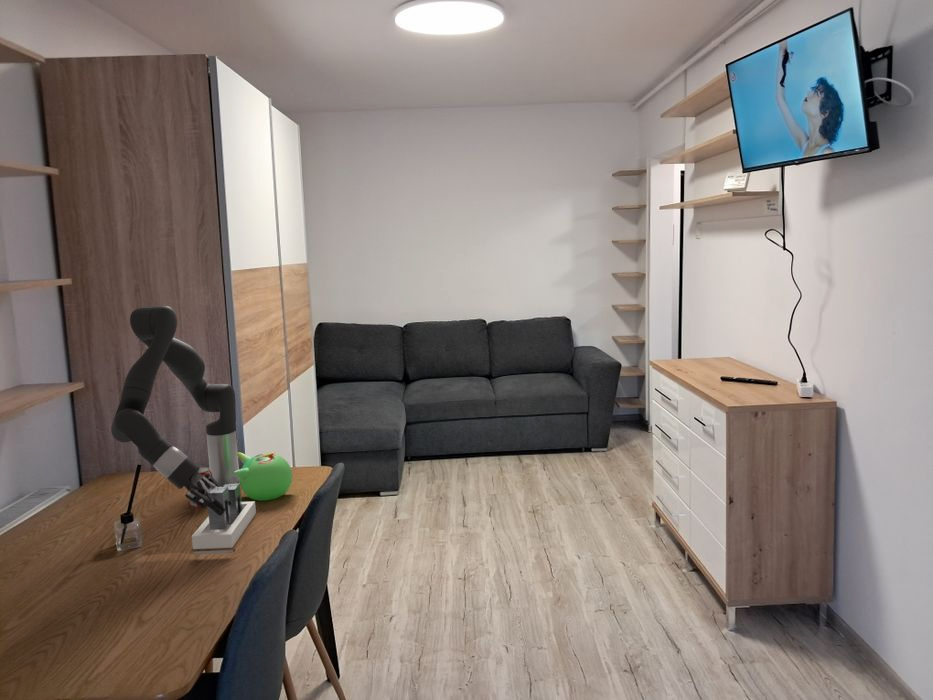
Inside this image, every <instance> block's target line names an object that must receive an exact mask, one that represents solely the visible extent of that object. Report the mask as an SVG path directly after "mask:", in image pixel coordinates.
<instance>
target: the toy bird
mask: <svg viewBox="0 0 933 700" xmlns="http://www.w3.org/2000/svg"><path fill="white" fill-rule="evenodd" d="M237 456H238V460H240V461H241V463H242V467H241V468H239V470H236V471H234V472H233V475H235V476H237V477H239V483H240V489H241V490H242V492H243V493H244V494H245V496H247V497H248V498H249V499H250V500H253V501H259V502H263V501H264V502H265V501H271V500H275V499H278V498H280V497H282V496H283V495H285V493H286V492H287V491H288V490H289V489H290V487H291V485H292V481H293V472H292V468H291V465H290V464H289V463H288V461H287V460H286V459H285V458H284V457H282V456H281V455H279V454H276V453H275V452H274V451H273V452H269V453H268V452H267V453H260V454H257V455H255V456H254V457H252V456H251V455H248V454H246V453H243V452H239V451H238V453H237Z"/></svg>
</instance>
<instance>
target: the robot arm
mask: <svg viewBox="0 0 933 700" xmlns="http://www.w3.org/2000/svg"><path fill="white" fill-rule="evenodd" d="M129 323H130V328H131V330H132V332H133V333H134V335H135V337H137V339H138V340H140V342H142V343H143V344H145V346H146V347H147V348H146V350H145V352H143V354H142V355H141V356H140V357H139V358H138V359H137V360H136V361H135V363H133V365H132V366H131V368H130V369H129V371H128V373H127V374H126V377H125V380H124V384H123V387H122V390H121V396H120V400H119V404H118V406H117V410H116V412H115V415H114V417H113V420H112V424H111V428H110V430H111V431H110V432H111V435H112V437H113V438H114V439H115V440H116V441H117V442H120V443H129V442H132V444H134V445H135V446H136V448H137V450H138V451H137V452H138V454H139V455H140V456H141V457H142V458H143V459H144V460H145V461H147V462H148V463H149V464H150V466H152V467H154V468H155V469H156V471H157V472H158V473H159V474H160V475H162V476H163V477H164V478H165V479H166V480H168V481H169V482H170V484H173V486H175V487H176V488H177V489H180V490H181V489H183V488H185V489H186V490H187V491H188V492H186V493H185V495H184V496H185V497H186V498H187V499H189V501H190V500H191V501H193V502H194V503H196V504H197V505H199V506H200V507H199V508H202V509H206V508H208V507H210V508H211V509H212V510H213V511H214V512H216V513H217V514H218V515H219V516H221V515H222V514H223V513H224V512H225V510H226V509H225V508H224V507H223V506H222V505H220V504H219V503H218V502H217V501H216V500H214V498H213V497H212V496H210V495H209V493H211V492H210V490H211V488H215V487H223V486H224V485H225V484H238V483H240V481H239V477H237V476H235V475H233V472H234V471H236V470H239V469H240V465H239V457H238V456H237V453H238V452H239V451H238V441H237V430H236V426H237V425H236V423H237V414H236V413H237V411H236V410H237V409H236V406H237V405H236V401H237V400H236V391H235V388H234V387H233V386H232V385H231V384H228V383H215V384H214V383H209V382H207V381H205V380H204V375H205V372H206V371H205V370H206V366H205V365H206V364H205V361H204V359H203V358H202V357H201V356H200V354H199V353H198V351H196V349H195V348H194V347H193V346H191V345H190V344H188V343H186V342H184V341H182V340H180V339H178V338H175V334H176V331H177V327H178V317H177V313H176V311H175V310H174V309H173V307H171V306H169V305H155V306H141V307H139V308H136V309H134V310H133V311H132V312H131V313H130V316H129ZM162 363H164V364H165V366H167V368H168V369H169V370H170V372H171V373H172V374H174V376H175V377H176V378H177V379H178V380H179V381H180V382H181V383H182V385H184V388H185V389H187V391H188V392H189V394H190V395H191V396H192V398H193V400H194V401H195V402H196V404H197V407H199V408H200V409H201V411H203V412H206V413H219V418H218V419H216V420H214V421H212V422H210V423H207V424H206V426H205V434H206V445H207V454H208V456H207V457H208V465H209V466H208V467H209V468H210V469H209V470H210V471H211V473H212V476H211V475H210V474H208V473H207V474H206V475H205V476H203V475H201V474H199V473H198V471H199V469H200V467H201V466H199V464H197V463H196V462H195V461H194V460H192V459H191V458H190V457H189V456H188V455H186V453H184V452H183V451H182V450H181V449H179V448H178V447H177V446H174V445H173V444H172V443H171V442H170V441H168V439H166V438H165V437H164V436H162V435H161V434H160V433H159V432H158V430H157V429H156V427H155V426H154V425H153V424H152V423H151V421H150V420H149V418H147V417H146V416H145V415H144V414H145V410H146V408H147V405H148V404H149V401H150V398H151V395H152V391H153V387H154V384H155V381H156V377H157V375H158V371H159V369H160V367H161V364H162ZM207 497H208V498H207ZM201 502H202V503H201ZM231 503H232V501H231V500H230V499H229V506H230V504H231Z"/></svg>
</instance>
